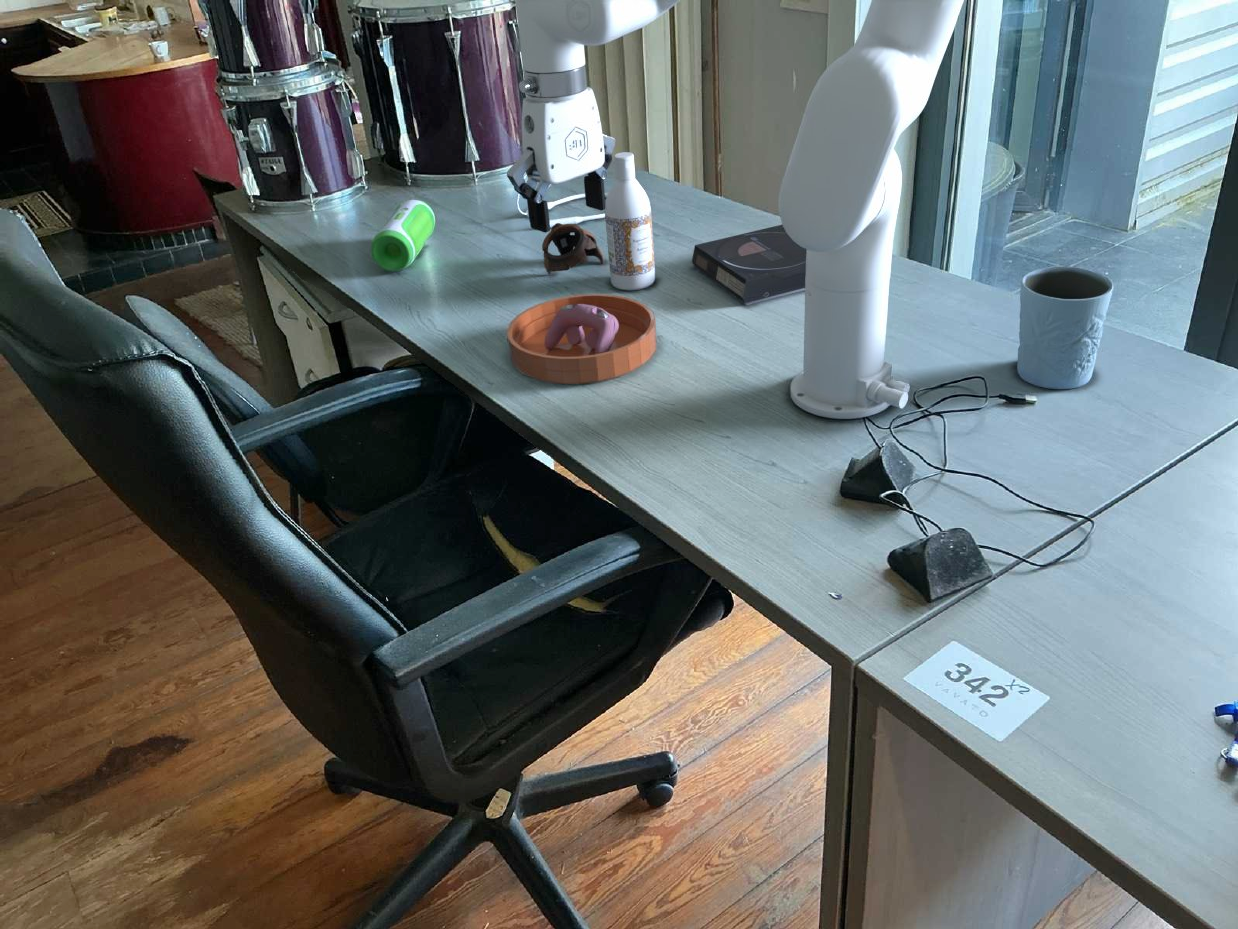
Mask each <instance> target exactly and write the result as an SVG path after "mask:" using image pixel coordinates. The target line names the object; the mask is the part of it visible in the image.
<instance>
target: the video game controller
mask: <svg viewBox="0 0 1238 929" xmlns="http://www.w3.org/2000/svg"><path fill="white" fill-rule="evenodd" d="M582 326H586V327H590V328H592V331H590V332H589V333H588V335H587V337H586V344H587V345H588V346H589V347H590V348H593V349H595V354H600V353H604V352H608V351H610V349H611V346H612V343H613V340H614V337H615V335H616V333H617V331H618V327H619V324H618V321H617V319H616V318H615V317H614V316H613V315H611V314H609V313H608V312H606V311H605V310H603V309H601V308H599V307H596V306H593V305H587V304H575V305H567V306H563V307H562V308H561V310H559V311H558V312H557V313H556V315H555V317H554V319H553V321H552V323H551V325H550V328H549V330H548V332H547V334H546V336H545V347H546V348H547V349H549V350H550V349H552V348H554V347H555V346H556V345H557V344H558V342H559V341H560V340H561V338H562V337H563V335H564V333H566V335H567V339H568V341H569V342H570V343H571V344H581V343H582V342H583V341H584V338H585V335H584V331H583V329H582Z"/></svg>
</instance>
